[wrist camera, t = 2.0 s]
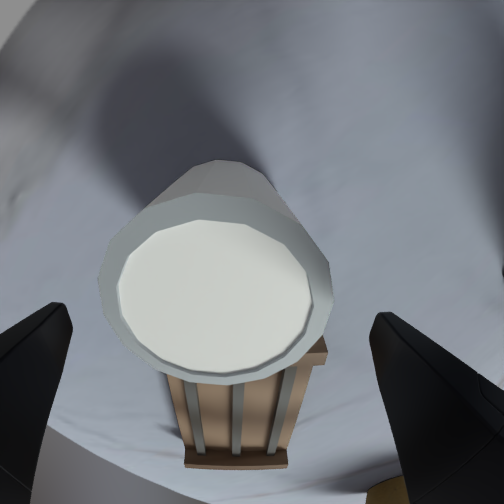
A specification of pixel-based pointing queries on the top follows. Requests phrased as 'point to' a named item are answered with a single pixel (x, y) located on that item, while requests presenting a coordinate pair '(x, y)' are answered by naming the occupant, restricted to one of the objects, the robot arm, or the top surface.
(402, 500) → the plant pot
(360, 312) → the top surface
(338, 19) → the top surface
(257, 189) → the white tapered cylinder
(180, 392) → the rack
